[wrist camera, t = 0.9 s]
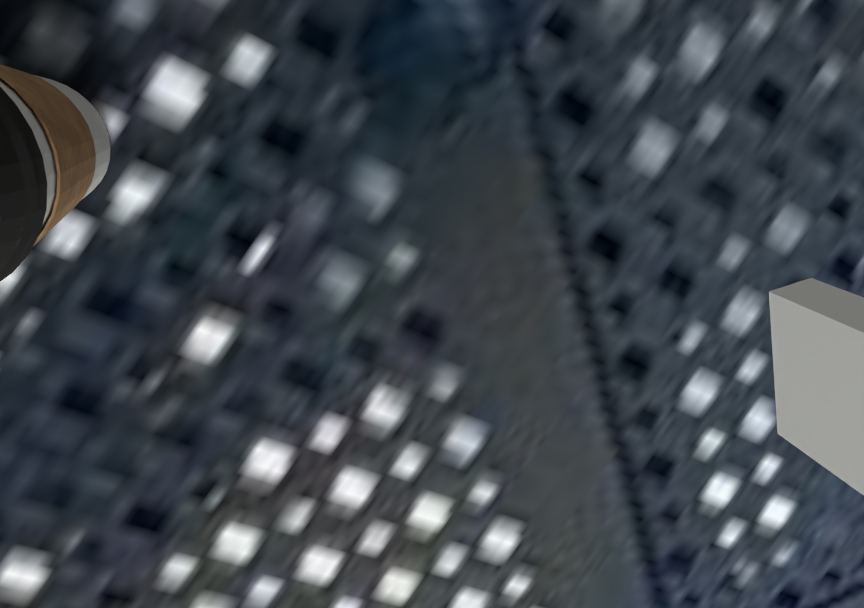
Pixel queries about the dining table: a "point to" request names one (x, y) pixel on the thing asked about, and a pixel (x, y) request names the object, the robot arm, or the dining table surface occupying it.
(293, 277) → the dining table surface
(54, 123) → the coffee cup
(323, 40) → the dining table surface
